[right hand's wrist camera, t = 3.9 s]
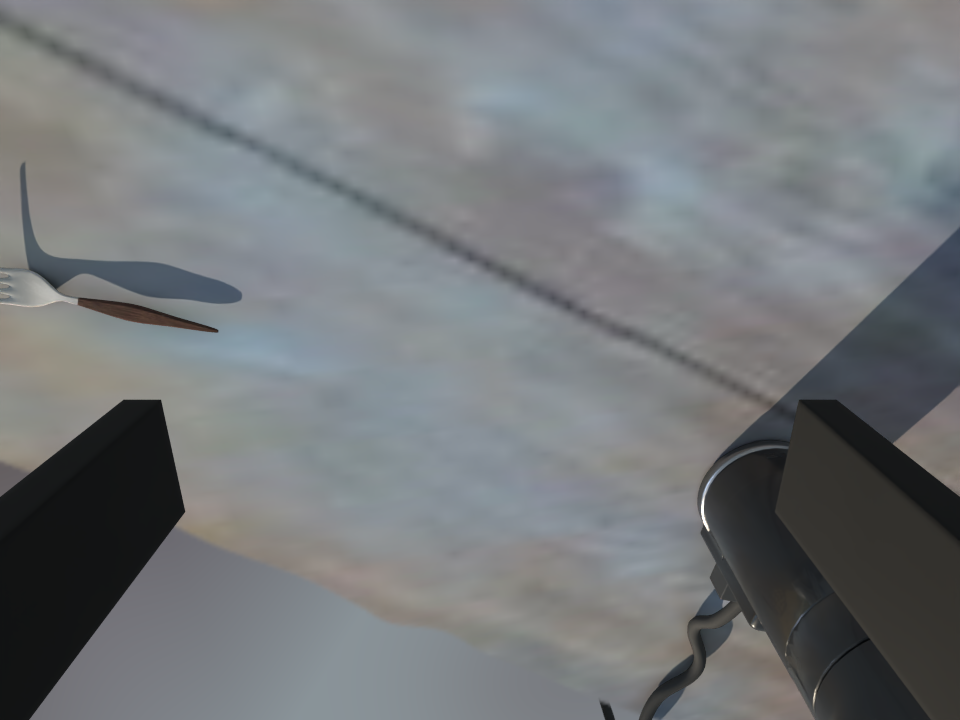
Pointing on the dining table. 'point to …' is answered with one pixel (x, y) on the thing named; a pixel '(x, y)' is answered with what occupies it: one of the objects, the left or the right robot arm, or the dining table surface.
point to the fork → (81, 301)
